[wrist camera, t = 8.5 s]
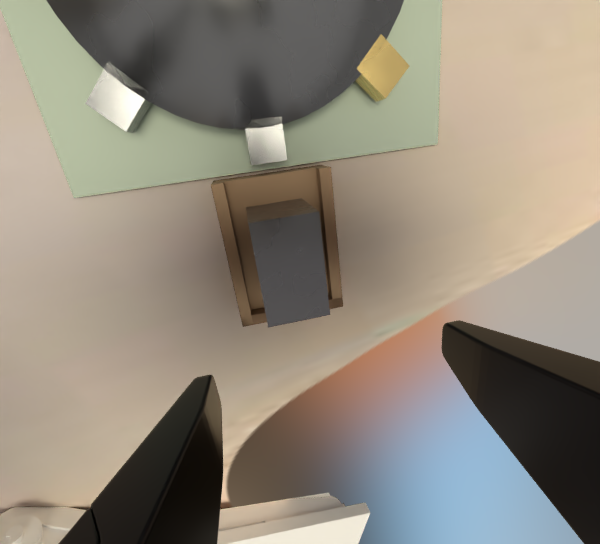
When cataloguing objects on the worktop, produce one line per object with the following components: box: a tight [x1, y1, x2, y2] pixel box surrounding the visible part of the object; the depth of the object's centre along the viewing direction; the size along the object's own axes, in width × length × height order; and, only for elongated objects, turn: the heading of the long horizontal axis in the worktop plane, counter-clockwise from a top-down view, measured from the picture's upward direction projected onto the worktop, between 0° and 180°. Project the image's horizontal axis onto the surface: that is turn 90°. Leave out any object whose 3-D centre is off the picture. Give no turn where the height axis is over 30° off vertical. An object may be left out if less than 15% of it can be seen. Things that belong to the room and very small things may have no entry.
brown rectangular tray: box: [211, 165, 343, 327], centre depth 18 cm, size 8×6×2 cm
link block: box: [246, 198, 330, 327], centre depth 16 cm, size 5×3×4 cm, turn 8°
